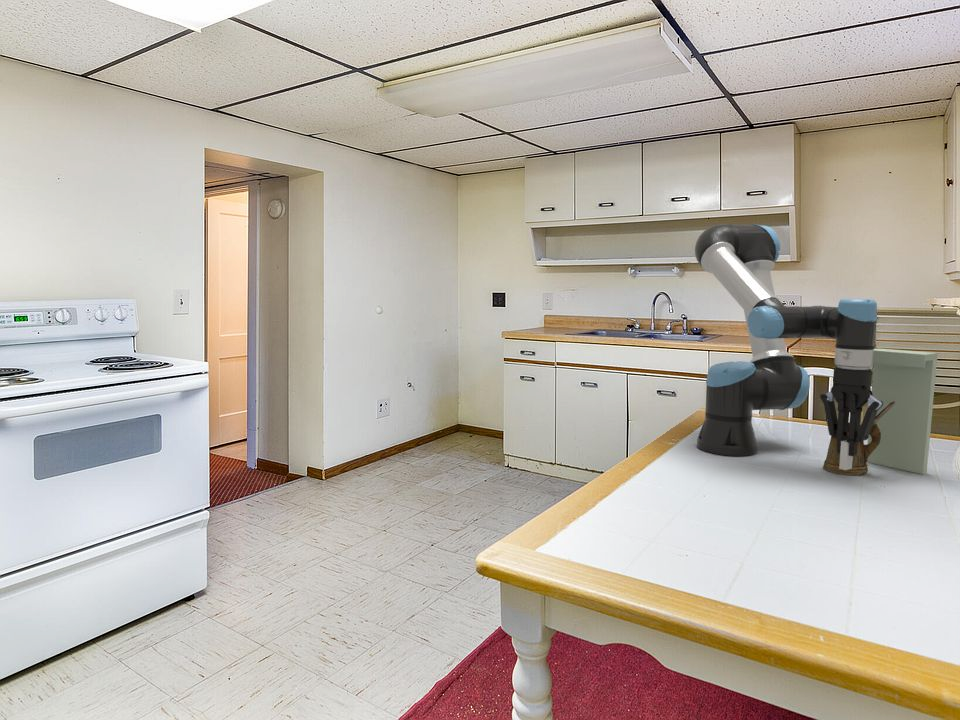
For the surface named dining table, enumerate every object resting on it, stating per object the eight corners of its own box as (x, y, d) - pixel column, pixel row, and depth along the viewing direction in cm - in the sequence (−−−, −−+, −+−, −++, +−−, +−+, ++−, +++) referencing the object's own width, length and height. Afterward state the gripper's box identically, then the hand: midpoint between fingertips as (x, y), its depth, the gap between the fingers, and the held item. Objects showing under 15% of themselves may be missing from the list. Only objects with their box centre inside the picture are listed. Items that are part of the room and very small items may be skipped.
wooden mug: (884, 482, 138) (891, 403, 136) (818, 470, 147) (823, 396, 145) (893, 474, 144) (899, 398, 142) (828, 462, 154) (834, 391, 151)
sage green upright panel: (857, 464, 152) (865, 349, 149) (869, 460, 156) (878, 348, 153) (914, 477, 142) (925, 354, 139) (926, 472, 146) (937, 353, 142)
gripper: (815, 365, 143) (808, 464, 146) (875, 371, 132) (867, 478, 135) (832, 363, 147) (825, 459, 150) (892, 369, 136) (884, 473, 139)
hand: (845, 468), depth 142 cm, fingers closed
